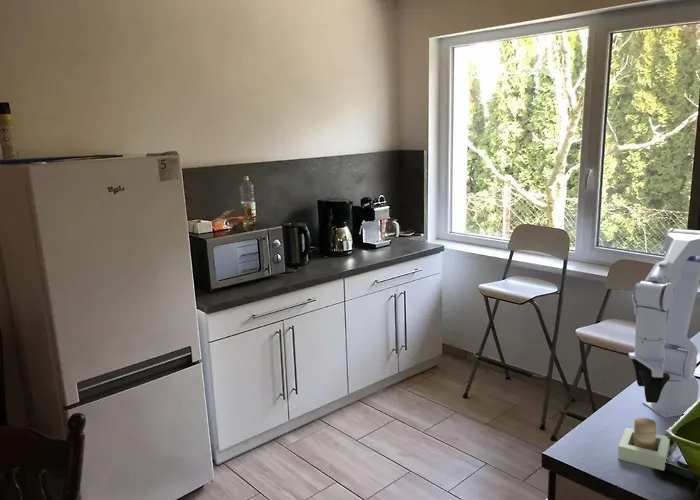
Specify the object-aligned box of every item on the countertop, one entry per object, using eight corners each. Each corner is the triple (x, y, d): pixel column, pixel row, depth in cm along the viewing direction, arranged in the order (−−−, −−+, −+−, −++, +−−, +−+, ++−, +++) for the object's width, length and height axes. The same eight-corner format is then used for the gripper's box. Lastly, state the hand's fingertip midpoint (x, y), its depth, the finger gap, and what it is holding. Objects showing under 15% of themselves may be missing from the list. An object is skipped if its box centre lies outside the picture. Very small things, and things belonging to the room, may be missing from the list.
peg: (659, 456, 118) (660, 425, 117) (642, 459, 118) (643, 428, 116) (645, 446, 122) (646, 416, 121) (629, 449, 121) (630, 419, 120)
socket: (625, 439, 126) (626, 427, 125) (669, 449, 121) (670, 437, 120) (618, 458, 119) (618, 446, 118) (664, 470, 114) (664, 457, 113)
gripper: (622, 323, 131) (620, 378, 134) (638, 348, 117) (635, 408, 120) (656, 324, 129) (653, 379, 132) (675, 349, 116) (672, 410, 118)
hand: (647, 393), depth 126 cm, fingers open, 7 cm apart
